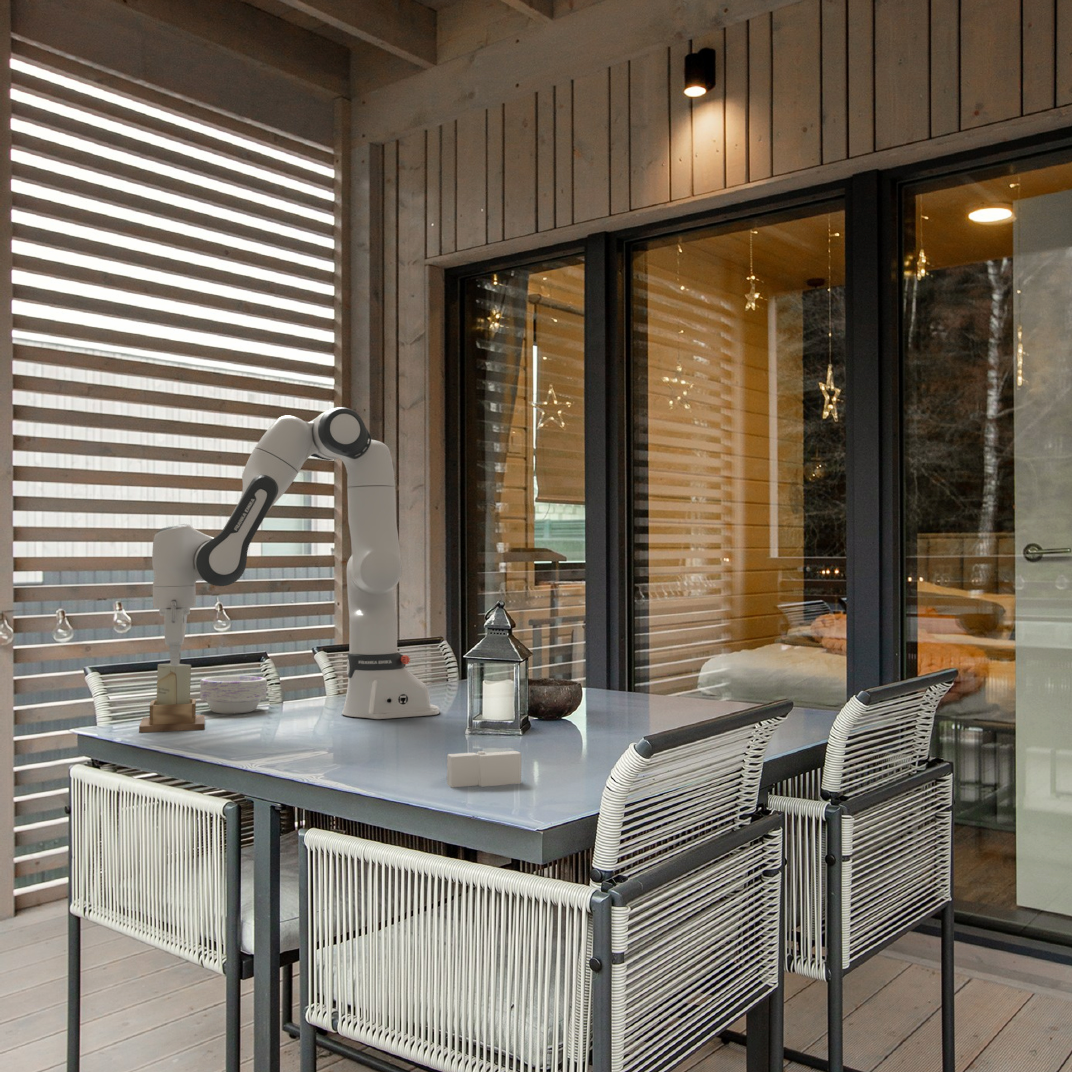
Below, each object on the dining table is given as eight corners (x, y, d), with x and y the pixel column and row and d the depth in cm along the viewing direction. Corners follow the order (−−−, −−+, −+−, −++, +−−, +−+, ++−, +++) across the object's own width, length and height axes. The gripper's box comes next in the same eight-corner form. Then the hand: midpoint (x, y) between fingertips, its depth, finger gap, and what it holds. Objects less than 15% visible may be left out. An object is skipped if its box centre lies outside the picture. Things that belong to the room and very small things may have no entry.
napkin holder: (535, 782, 174) (535, 747, 175) (514, 797, 164) (514, 760, 164) (450, 776, 179) (450, 742, 179) (424, 790, 168) (424, 754, 168)
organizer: (204, 720, 237) (204, 696, 237) (204, 729, 224) (204, 704, 224) (142, 722, 233) (143, 699, 233) (139, 732, 220) (139, 707, 220)
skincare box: (155, 720, 228) (155, 664, 229) (172, 717, 232) (172, 662, 232) (174, 723, 225) (175, 665, 225) (191, 720, 229) (191, 664, 229)
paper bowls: (276, 707, 257) (276, 674, 257) (251, 717, 242) (251, 682, 242) (217, 706, 259) (217, 673, 259) (188, 715, 244) (188, 681, 244)
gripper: (189, 600, 220) (190, 667, 220) (190, 597, 240) (191, 658, 239) (156, 602, 218) (158, 669, 218) (161, 598, 238) (162, 659, 237)
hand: (175, 663), depth 229 cm, fingers open, 8 cm apart
